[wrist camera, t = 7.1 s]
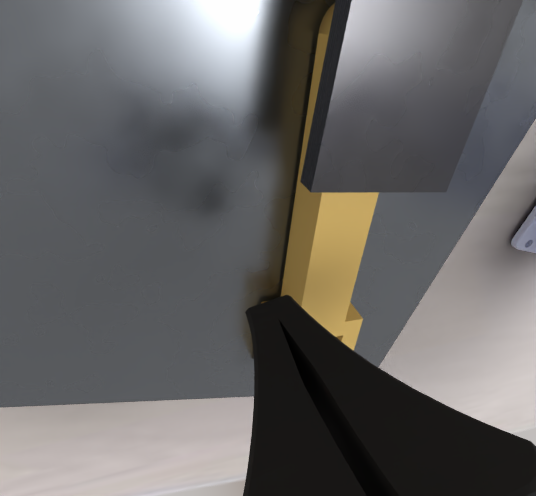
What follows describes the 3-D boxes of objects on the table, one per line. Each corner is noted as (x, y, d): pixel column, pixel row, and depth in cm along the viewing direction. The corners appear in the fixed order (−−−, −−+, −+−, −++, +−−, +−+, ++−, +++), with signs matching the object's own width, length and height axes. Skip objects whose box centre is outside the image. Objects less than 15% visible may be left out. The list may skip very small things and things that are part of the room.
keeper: (376, 150, 16) (446, 192, 13) (264, 145, 15) (310, 192, 11) (447, -97, 12) (575, -130, 9) (304, -144, 11) (395, -206, 7)
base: (605, -34, 15) (733, -39, 12) (354, 378, 25) (390, 435, 22) (-6, -570, 7) (-114, -1094, 3) (-27, 388, 16) (-60, 484, 13)
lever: (326, 350, 21) (344, 380, 19) (254, 364, 19) (267, 398, 18) (412, 1, 12) (455, 3, 11) (296, -14, 11) (327, -14, 10)
